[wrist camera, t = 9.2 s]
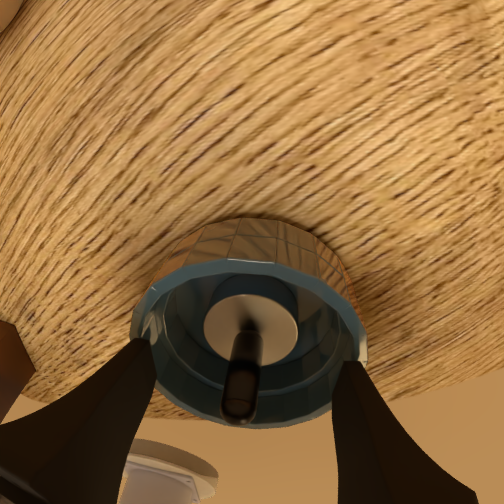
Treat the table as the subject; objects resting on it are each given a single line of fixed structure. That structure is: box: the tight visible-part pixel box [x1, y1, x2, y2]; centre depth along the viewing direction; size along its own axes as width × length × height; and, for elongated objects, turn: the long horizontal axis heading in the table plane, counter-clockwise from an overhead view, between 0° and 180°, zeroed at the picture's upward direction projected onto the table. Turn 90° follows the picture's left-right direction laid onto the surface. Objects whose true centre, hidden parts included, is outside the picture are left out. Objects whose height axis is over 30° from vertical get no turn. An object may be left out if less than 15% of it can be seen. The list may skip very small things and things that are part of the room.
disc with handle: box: [203, 274, 299, 426], centre depth 12 cm, size 4×4×6 cm
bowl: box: [129, 218, 368, 429], centre depth 13 cm, size 9×9×4 cm
